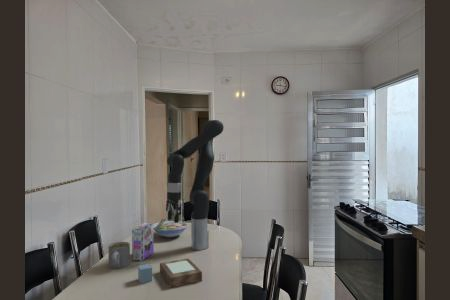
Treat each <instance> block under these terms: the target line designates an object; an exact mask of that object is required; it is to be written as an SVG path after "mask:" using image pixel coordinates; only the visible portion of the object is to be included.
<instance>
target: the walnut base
mask: <svg viewBox="0 0 450 300" xmlns="http://www.w3.org/2000/svg"><path fill="white" fill-rule="evenodd" d="M159 273H160V274H161V275H162V277H163V279H164V280H165V281H166V283H167V284H168V286H169V288H175V287H179V286H180V287H181V286H184V285H185V286H186V285H189V284H194V283H199V282H202V281H203V271H201V269H200V268H199V267H198V266H197V265H196V264H195V263H194V262H192V260H191V259H190V258H184V259H183V258H181V259H176V260H172V261H171V260H169V261H165V262H160V263H159Z"/></svg>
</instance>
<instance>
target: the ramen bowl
mask: <svg viewBox="0 0 450 300" xmlns="http://www.w3.org/2000/svg"><path fill="white" fill-rule="evenodd" d="M187 227H188V223H187V222H185V221H181V220H179V222H178V223H175V222H174V220H167V221H166V218H165V219H161V220H160V221H159V222H156V223H153V231H154V232H155V233H156V234H158V235H159V236H162V237H165V238H167V239H168V238H171V237H172V238H175V237H177V236H180V235H181V234H182V233H183V232H184V231H185V230H186V229H187Z"/></svg>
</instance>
